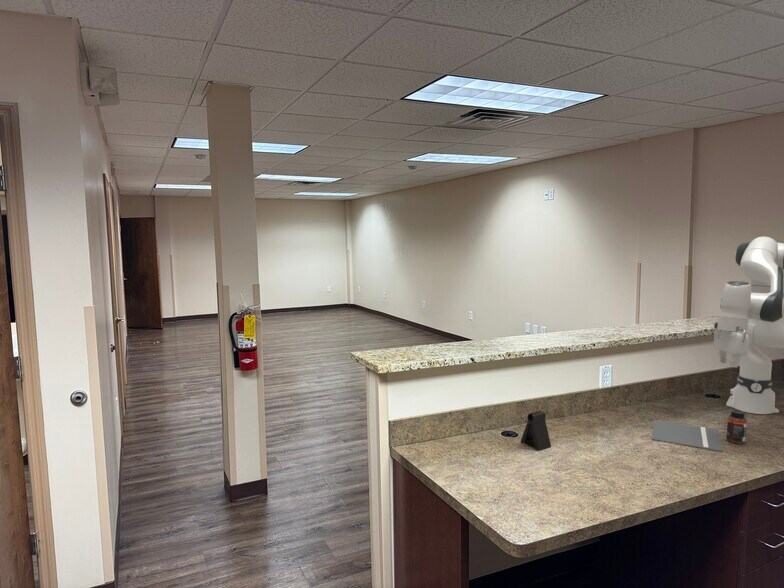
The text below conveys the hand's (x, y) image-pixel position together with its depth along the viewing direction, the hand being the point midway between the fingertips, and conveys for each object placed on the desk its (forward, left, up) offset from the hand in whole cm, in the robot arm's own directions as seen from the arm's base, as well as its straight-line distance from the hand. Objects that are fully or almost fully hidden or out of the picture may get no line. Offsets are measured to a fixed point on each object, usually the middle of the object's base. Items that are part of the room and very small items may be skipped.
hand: (728, 365), depth 185 cm
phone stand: (+33, -59, -29) cm, 74 cm away
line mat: (-2, -11, -29) cm, 31 cm away
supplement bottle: (-4, +5, -29) cm, 30 cm away
